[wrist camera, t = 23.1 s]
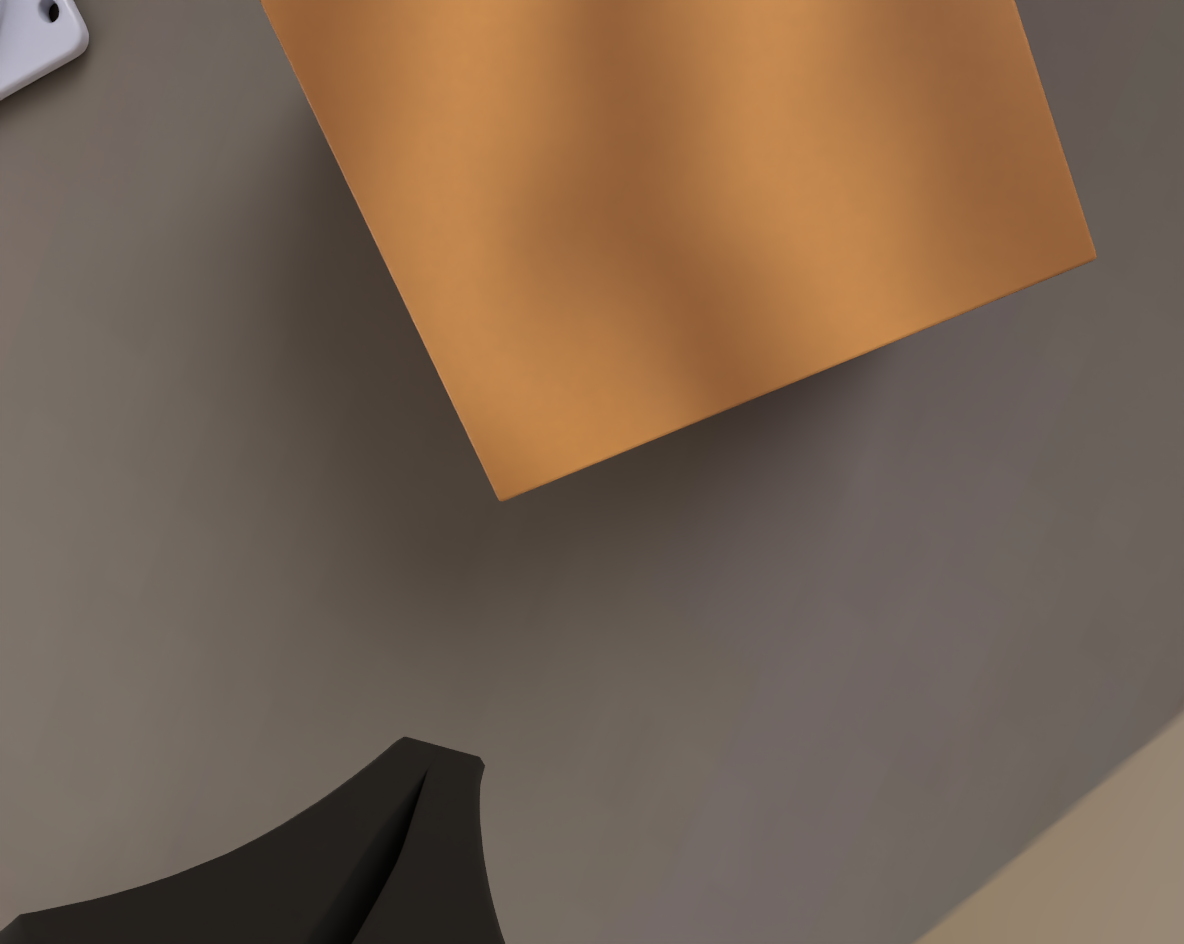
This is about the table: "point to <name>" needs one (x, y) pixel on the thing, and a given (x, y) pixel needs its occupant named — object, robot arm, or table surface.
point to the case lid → (679, 194)
